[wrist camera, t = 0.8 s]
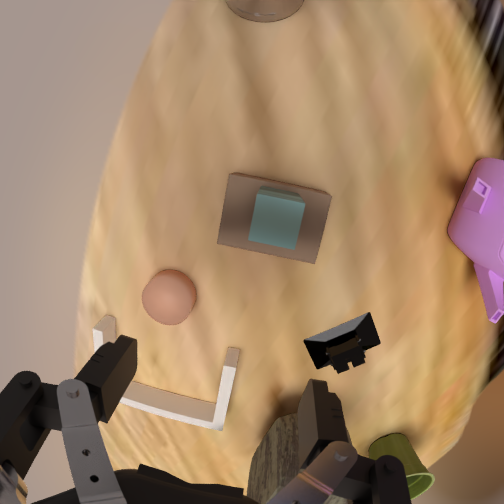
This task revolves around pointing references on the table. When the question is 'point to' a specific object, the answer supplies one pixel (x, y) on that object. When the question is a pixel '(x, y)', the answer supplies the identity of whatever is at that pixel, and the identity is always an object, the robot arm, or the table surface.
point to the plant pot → (404, 462)
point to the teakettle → (483, 230)
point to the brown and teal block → (273, 217)
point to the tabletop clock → (278, 462)
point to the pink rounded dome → (169, 297)
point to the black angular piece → (343, 344)
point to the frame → (170, 402)
